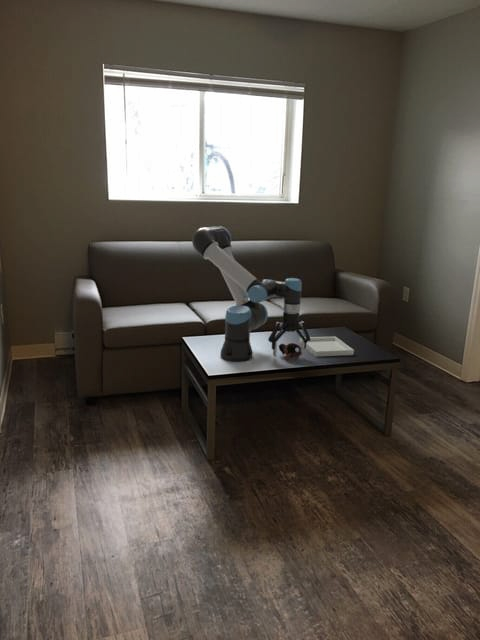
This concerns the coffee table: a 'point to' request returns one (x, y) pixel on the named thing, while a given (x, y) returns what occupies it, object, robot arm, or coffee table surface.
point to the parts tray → (327, 346)
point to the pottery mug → (290, 350)
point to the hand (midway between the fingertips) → (288, 355)
